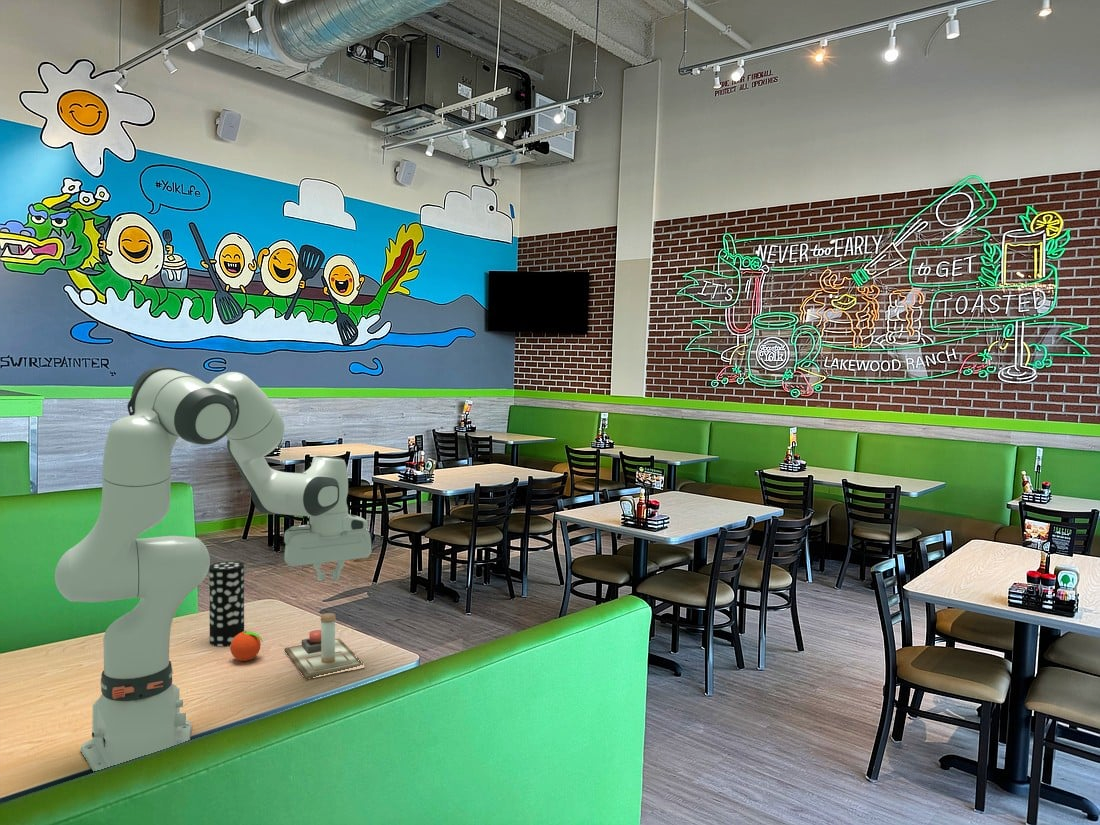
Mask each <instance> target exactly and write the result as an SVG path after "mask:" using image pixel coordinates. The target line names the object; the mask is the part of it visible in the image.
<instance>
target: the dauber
mask: <svg viewBox="0 0 1100 825" xmlns="http://www.w3.org/2000/svg"><path fill="white" fill-rule="evenodd" d="M320 622H321V623H320V627H321V628H320V630H321V662H322V663H332V662H334V661H335V639H336V614H335V613H332V612H327V613H322V614H321V615H320Z"/></svg>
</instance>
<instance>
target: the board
mask: <svg viewBox="0 0 1100 825" xmlns="http://www.w3.org/2000/svg"><path fill="white" fill-rule="evenodd" d="M283 649H284V651H285V652H286V653H287V655H288V656H289V657H288V656H287V655H286V656H287V657H288V658H290V659H291V660H292V661H291V660H290V659H289V660H290V661H291V663H292V662H293V663H294V664H295V665H294V664H293V663H292V664H293V665H294V667H295V666H296V667H297V668H298V669H297V668H296V667H295V668H296V669H297V670H299V671H300V672H301V673H302V675H303V676H304V677H303V676H302V675H301V676H302V677H303V678H305V679H309V678H313V677H316V676H319V675H324V674H328V673H333V672H337V671H341V670H345V669H349V668H353V667H357V666H360V665H363V663H364V662H363V661H362V660H361V659H360V658H359V657H358V656H357V655H356V654H355V653H354V651H353V650H351V648H350V647H348V645H347V644H346V643H345V642H344V641H343V640H342V639H340V637H339V638H335V661H334V662H332V663H322V662H321V641H320V642H311V641H309V638H306V639H301V644H300V645H293V646H288V647H284V648H283ZM284 651H283V652H284ZM285 652H284V653H285ZM286 653H285V654H286ZM355 655H356V656H357V658H356V656H355ZM359 659H360V660H361V661H362V663H361V661H360V660H359ZM358 660H359V661H358ZM299 671H298V672H299ZM300 672H299V673H300ZM301 673H300V674H301ZM305 679H304V680H305ZM309 680H310V679H309Z"/></svg>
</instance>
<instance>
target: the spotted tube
mask: <svg viewBox="0 0 1100 825" xmlns="http://www.w3.org/2000/svg"><path fill="white" fill-rule="evenodd" d="M208 576H209V577H208V578H209V584H208V585H209V587H208V588H209V591H208V592H209V593H208V594H209V595H208V596H209V605H208V606H209V644H210V645H211V644H212V645H211V646H213V645H214V647H219V646H224V647H228V646H227V645H231V642H232V640H233V639H234V637H235V636H236V635H238V634H239V633H241V632H245V563H243V562H241V561H235V560H234V561H229V560H228V561H221V562H216V563H212V564H210V566H209V570H208Z"/></svg>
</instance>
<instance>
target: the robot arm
mask: <svg viewBox="0 0 1100 825" xmlns="http://www.w3.org/2000/svg"><path fill="white" fill-rule="evenodd" d="M130 395H131V396H130V399H129V401H128V403H127V406H126V407H127V411H128V412H127V413H128V414H129V415H128V416H127V415H126V416H124V417H122V418H119V419H117V420H116V421H114V422H113V423H112V425H111V426H110V428H109V430H108V433H107V436H106V442H105V447H104V452H103V458H102V459H103V460H102V462H103V463H102V490H101V503H100V510H99V515H98V516H97V520H96V521H95V524H94V526H93V527H92V529H91V530H90V531H89V533H88V534H86V536H85V537H84V538H83V539H82V540H80V541H79V542H78V543H76V544H75V545H74V546H73V547H70V548H68V550H67V551H65V553H63V554H62V556H61V557H60V559H59V560H58V561H57V564H56V567H55V571H54V581H55V586H56V588H57V590H58V592H59V593H60V594H61V595H62V597H63V598H64V599H66V600H67V601H69V602H76V603H77V602H78V603H105V602H111V601H119V600H125V599H132V598H135V599H138V598H140V600H139V602H138V603H137V604H136V605H135V607H134V608H133V609H131V610H130V611H129V612H127V613H125V614H123V615H121V616H120V617H118V618H117V619H115V620H114V621H113V622H112V623H110V625H109V626H108V627H107V628H106V630H105V632H104V634H103V670H102V672H101V675H100V676H101V677H100V686H101V687H100V691H101V694H100V697H98V699H96V701H95V702H94V703H93V704H92V715H91V716H92V717H91V718H92V721H91V722H92V726H91V728H92V730H91V731H92V732H91V738H90V739H89V740H87V741H85V742H83V743H82V744H81V746H80V753H81V752H82V753H81V755H82V756H83V755H84V756H83V757H85V758H86V759H85V758H84V759H85V761H86V760H87V761H88V762H87V761H86V762H87V764H88V763H89V764H88V765H89V767H90V769H91V770H92V771H93V772H94V771H97V770H101V769H104V768H107V767H110V766H113V765H117V764H120V763H123V762H126V761H129V760H132V759H135V758H138V757H141V756H144V755H148V754H151V753H154V752H157V751H160V750H163V749H166V748H169V747H171V746H174V745H177V744H180V743H183V742H185V741H188V740H190V741H191V735H192V729H193V726H192V722H191V721H190V720H187V714H186V712H180V710H181V709H180V708H183V706H184V700H183V699H181V698H180V687H178V686H177V685H175V683H173V672H174V671H173V667H172V661H171V660H170V643H171V642H170V641H171V631H172V630H171V629H172V625H173V624H172V623H173V620H174V617H175V615H176V613H177V612H178V608H179V607H180V606H181V604H182V603H183V601H184V600H185V598H187V596H188V595H189V594H190V593H191V592H192V591H194V589H196V588H197V587H199V586H200V585H201V583H203V582H204V580H205V579H206V576H207V575H208V574H209V566H210V565H211V564H210V563H211V557H210V553H209V550H208V548H207V546H206V544H205V543H204V542H203V541H202V540H201V539H199V538H198V537H193V536H185V535H184V536H183V535H166V536H163V535H162V536H155V537H145V538H144V537H143V538H138V537H140V535H141V534H143V533H144V532H146V531H147V530H150V529H151V528H154V527H155V526H157V525H158V524H160V523H161V522H162V521H163V520H164V519H165V517H166V516H167V514H168V513H169V511H170V509H171V508H170V507H171V487H172V486H171V485H172V484H171V483H172V482H171V481H172V480H171V478H172V461H171V460H172V458H171V455H172V451H173V448H174V445H175V444H176V442H177V440H178V438H181V439H182V440H184V441H185V442H188V443H190V444H191V443H192V444H195V445H202V446H203V445H211V444H212V445H213V444H214V443H216V442H218V441H220V440H221V439H223V438H224V437H226V438H227V442H226V447H227V451H228V454H229V456H230V458H231V460H232V462H233V463H234V466H235V467H236V468H237V470H238V472H239V473H240V475H241V477H242V479H243V480H244V482H245V483H246V484H245V485H247V487H248V490H249V492H250V496H251V500H252V502H253V504H254V506H255V508H256V509H257V510H258V511H259V512H260V513H262V514H264V515H288V516H297V517H298V516H301V517H309V524H303V525H293V526H290V527H289V528H287V529H286V530H285V531H284V534H283V542H284V544H285V546H284V547H285V548H284V562H285V563H286V564H287V565H288V566H289V567H298V566H299V567H300V566H306V565H307V566H309V565H312V566H313V568H314V569H315V571H316V573H317V580H318V582H324V581H326V580H327V573H325V571H321V569H320V568H322V564H325V563H332V562H335V563H336V564H337V566H336V567H335V568H334V569H335V570H331V571H330V572H331V579H332V580H340V576H341V574H340V573H341V571H342V569H343V568H344V567H345V561H347V560H358V559H367V558H369V557H370V556H371V554H372V539H371V533H370V532H369V530H367V528H368V524H369V523H368V521H367V519H365V518H363V517H361V516H358V515H354V514H351V513H350V514H349V507H348V504H347V499H348V498H347V497H348V493H349V475H348V469H347V468H348V467H347V464H346V461H345V460H344V459H343V458H341V457H337V456H328V455H316V456H314V457H313V458H312V462H311V465H310V467H308V469H306V470H305V471H304V472H302V473H298V472H287V471H280V470H278V469H274V468H271V467H270V465H269V464H268V462H267V459H266V458H265V457H266V456H267V455H269V454H270V453H272V452H273V451H274V450H275V449H276V448H278V446H279V445H280V443H281V441H282V440H283V438H284V434H285V424H284V419H283V418H282V416H281V414H280V412H279V410H278V409H277V408H276V406H275V405H274V404H273V402H272V401H271V400H270V398H269V397H268V396H267V394H266V393H265V392H264V391H263V390H262V389H261V388H260V386H258V385H257V384H256V383H255V382H254V381H253V380H252V379H251V378H249V376H247V375H245V374H244V373H241V372H237V371H230V372H225V373H223V374H219V375H218V376H216V377H215V378H213V379H212V381H210V382H209V383H206V382H204V381H203V380H201V379H200V378H199V377H195V376H193V375H191V374H189V373H185V372H183V371H181V370H179V369H178V368H174V367H169V366H155V367H150V368H149V369H146V370H145V371H144V372H143V373H141V375H140V376H139V377H138V378H137V379H136V381H135V383H134V385H133V388H132V391H131V394H130ZM131 410H132V411H131Z"/></svg>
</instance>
